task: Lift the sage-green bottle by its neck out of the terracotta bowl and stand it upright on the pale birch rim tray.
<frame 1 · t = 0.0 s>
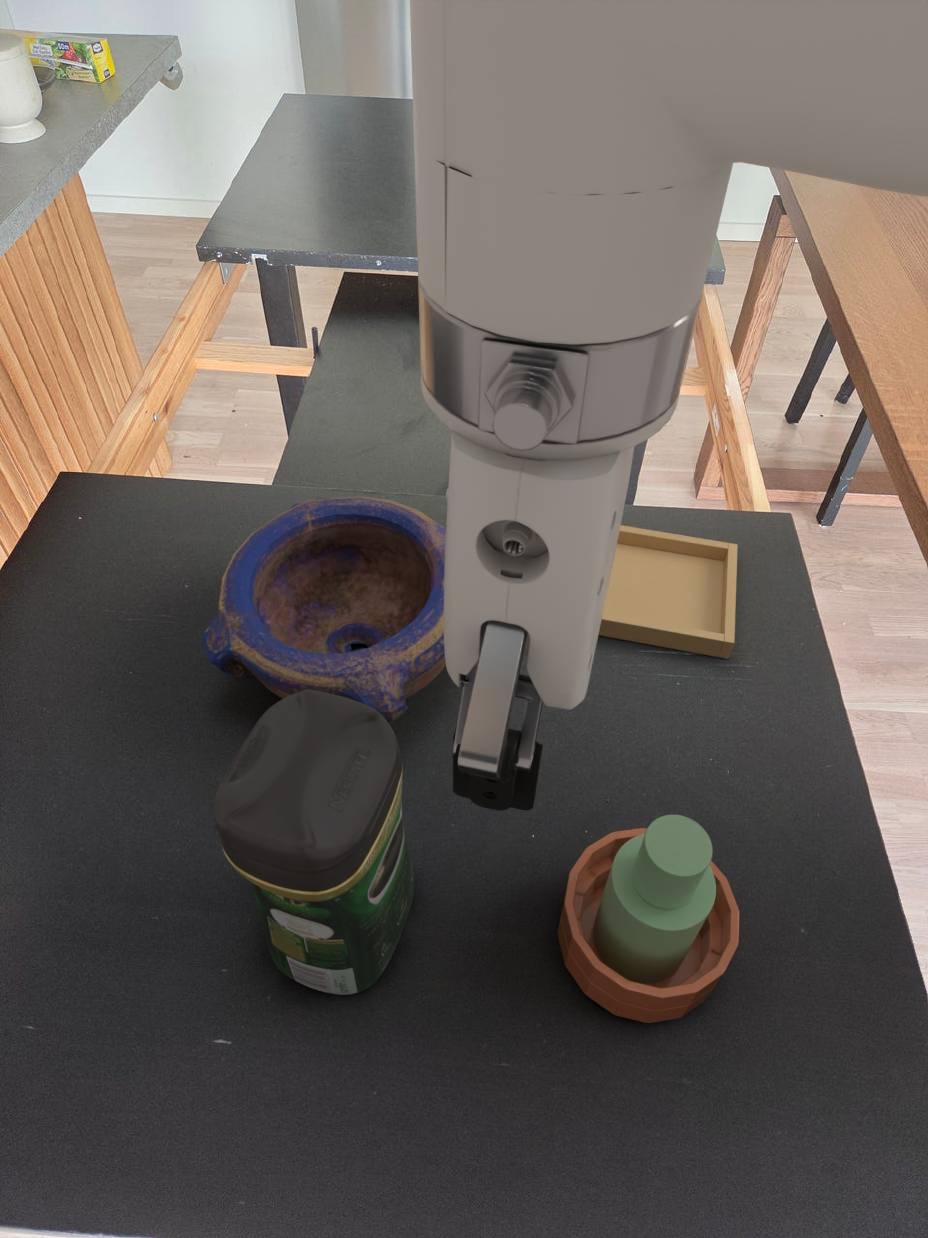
hand: (517, 700, 36), 22 cm above the table, tool pointing down, fingers open, 9 cm apart
bottle: (639, 936, 51), point 1 cm above the table, touching clay bowl
bowl: (354, 660, 67), on the table
clay bowl: (637, 940, 52), on the table
coffee jar: (343, 920, 53), on the table
tray: (637, 591, 72), on the table
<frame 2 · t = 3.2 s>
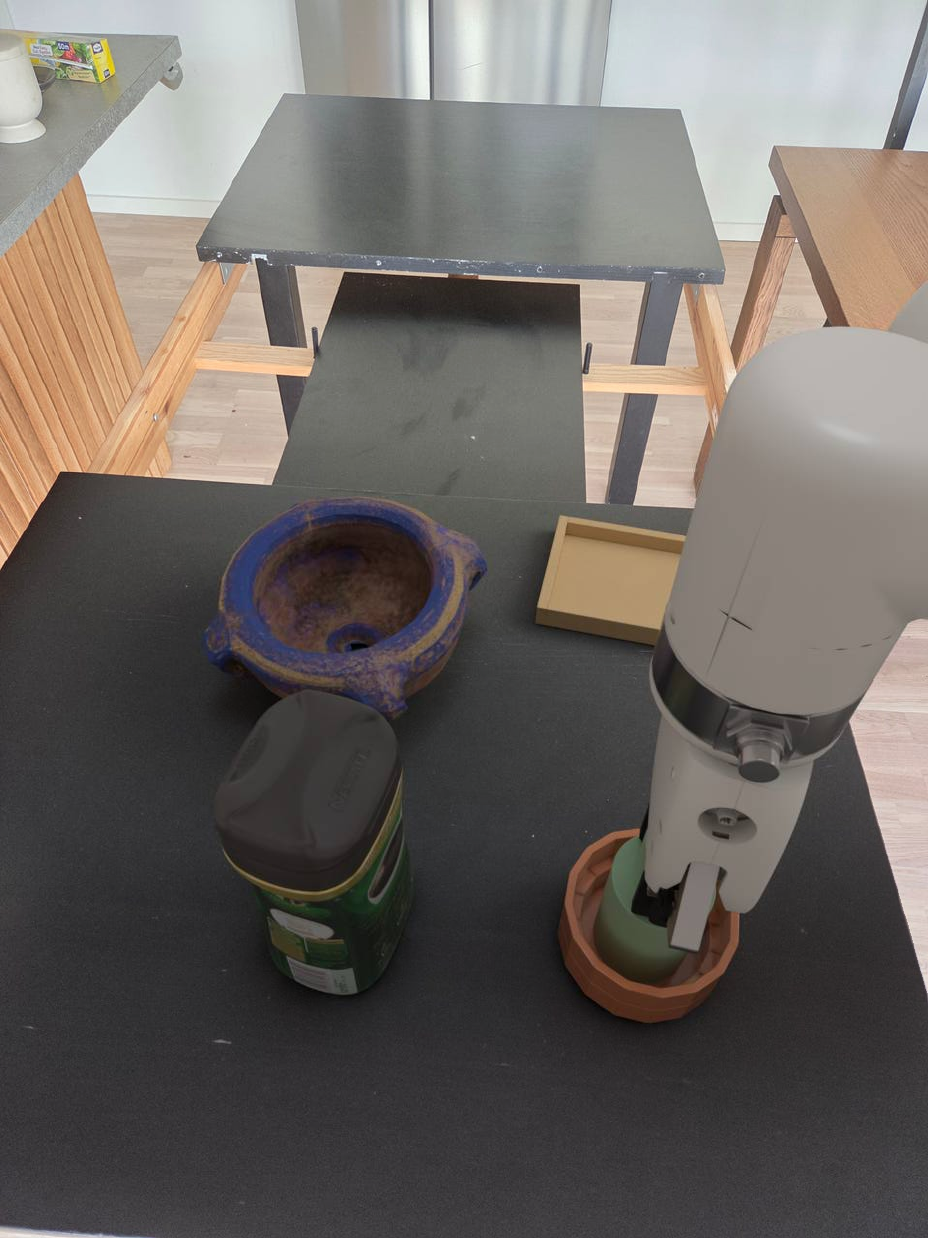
hand: (664, 876, 45), 9 cm above the table, tool pointing down, fingers closed on bottle, 3 cm apart
bottle: (639, 936, 51), point 1 cm above the table, touching clay bowl, gripper
everything else where it was.
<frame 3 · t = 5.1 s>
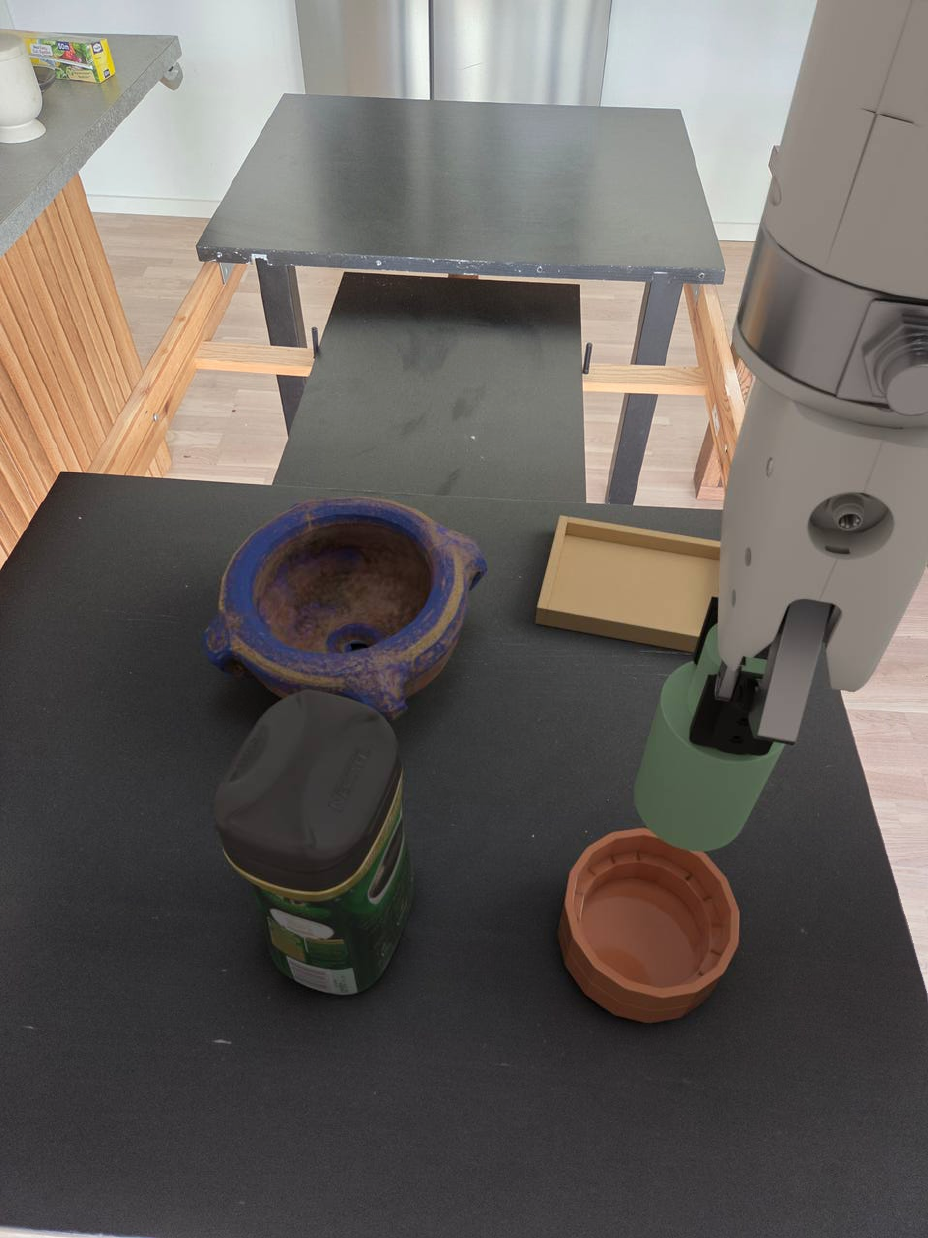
hand: (728, 702, 36), 22 cm above the table, tool pointing down, fingers closed on bottle, 3 cm apart
bottle: (689, 800, 43), point 14 cm above the table, touching gripper
everything else where it was.
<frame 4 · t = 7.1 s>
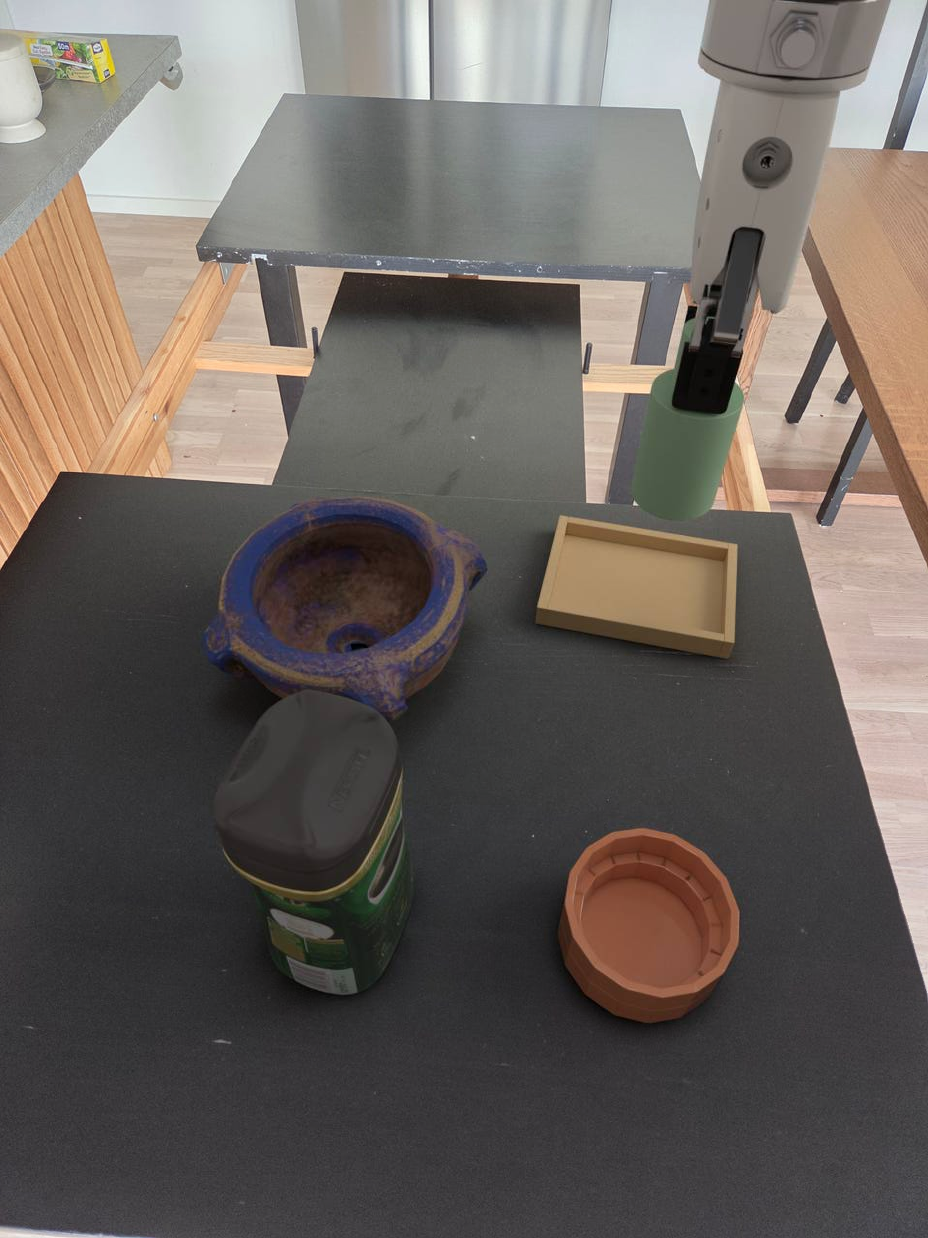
hand: (700, 386, 51), 23 cm above the table, tool pointing down, fingers closed on bottle, 3 cm apart
bottle: (672, 493, 57), point 15 cm above the table, touching gripper
everything else where it was.
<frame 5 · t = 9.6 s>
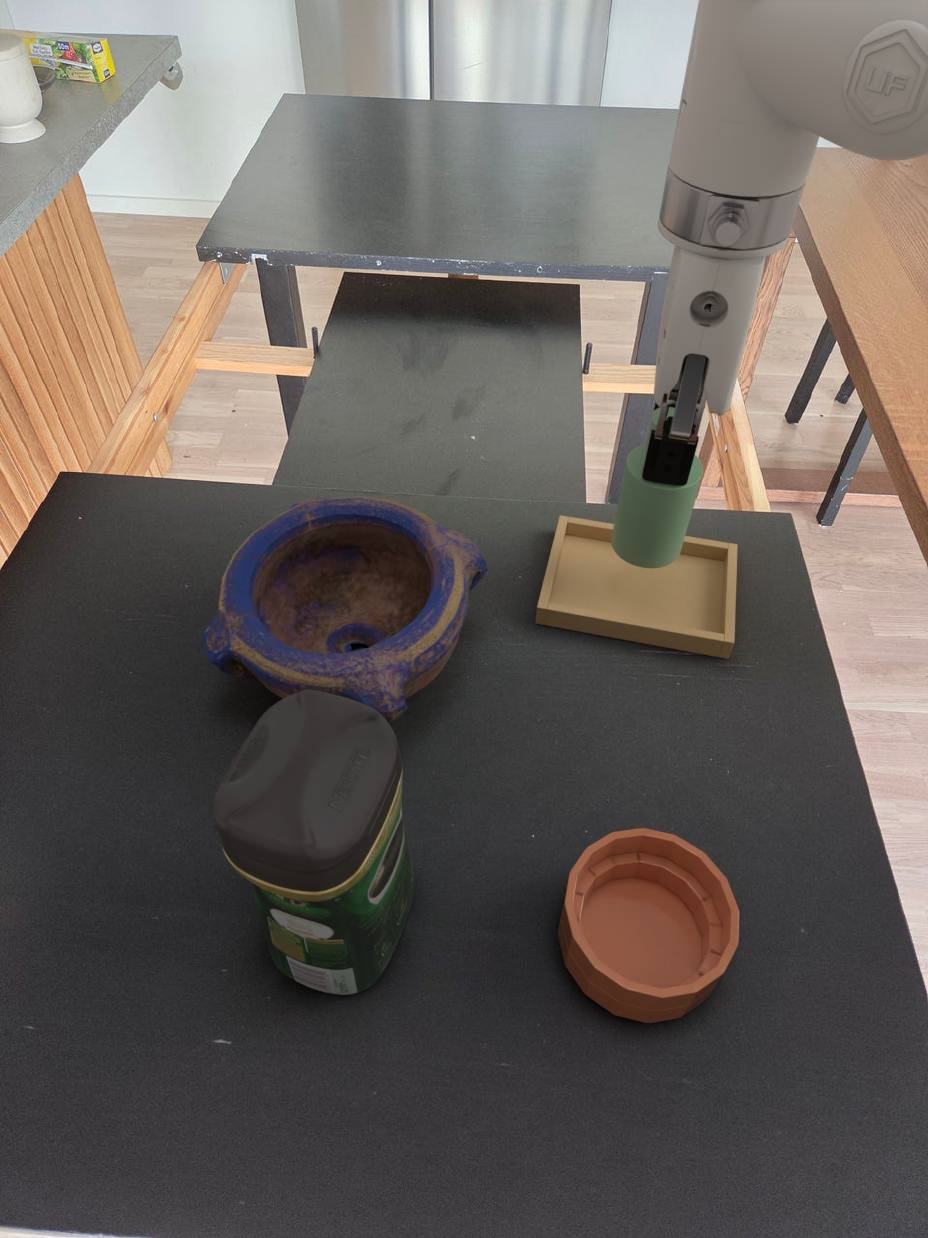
hand: (666, 461, 62), 14 cm above the table, tool pointing down, fingers closed on bottle, 3 cm apart
bottle: (645, 544, 68), point 5 cm above the table, touching gripper
everything else where it was.
when the fingers open (9 cm above the table, at t = 11.1 s): bottle stays where it is, resting on tray.
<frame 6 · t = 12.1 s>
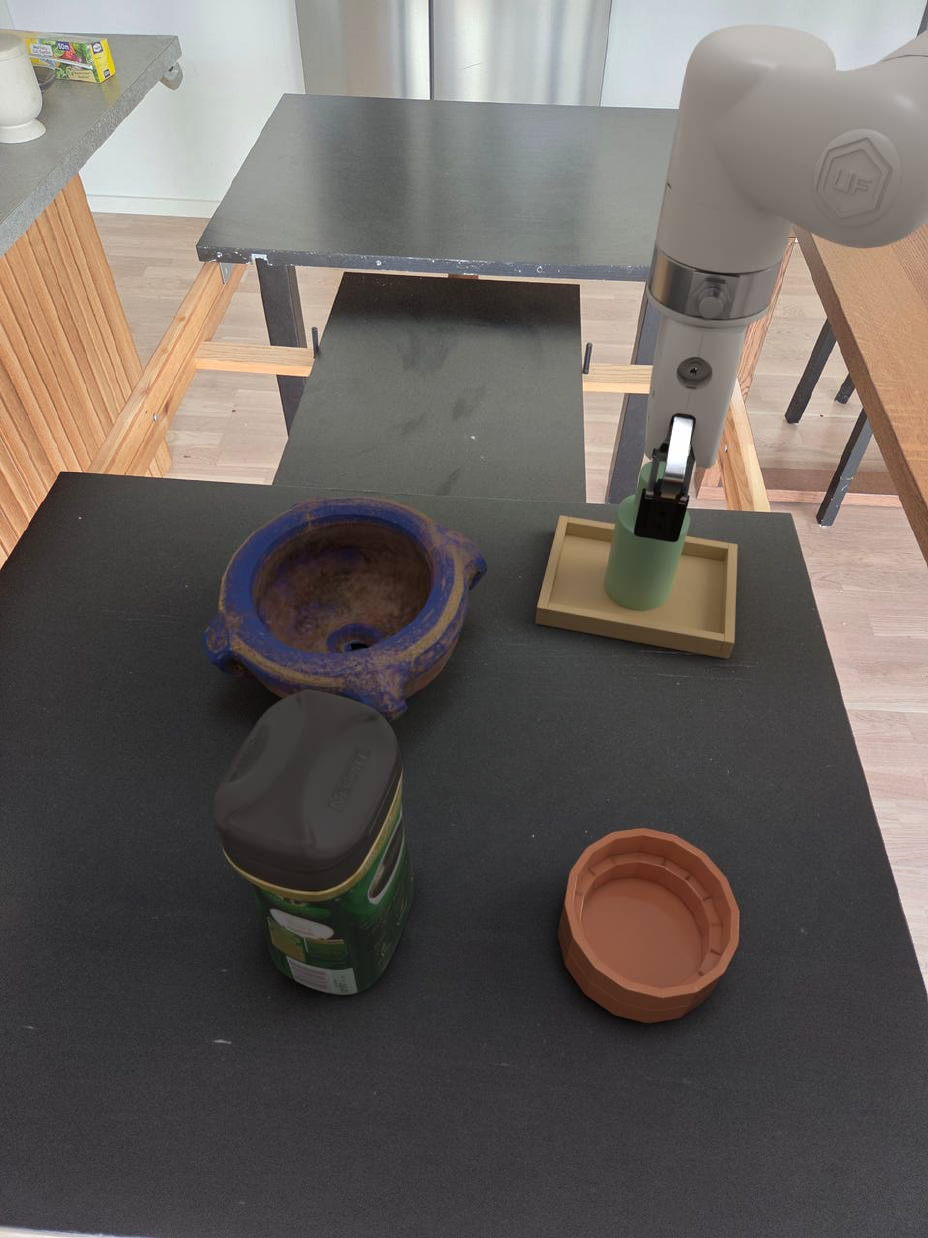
hand: (660, 494, 64), 11 cm above the table, tool pointing down, fingers open, 9 cm apart
bottle: (636, 586, 72), resting on tray
everything else where it was.
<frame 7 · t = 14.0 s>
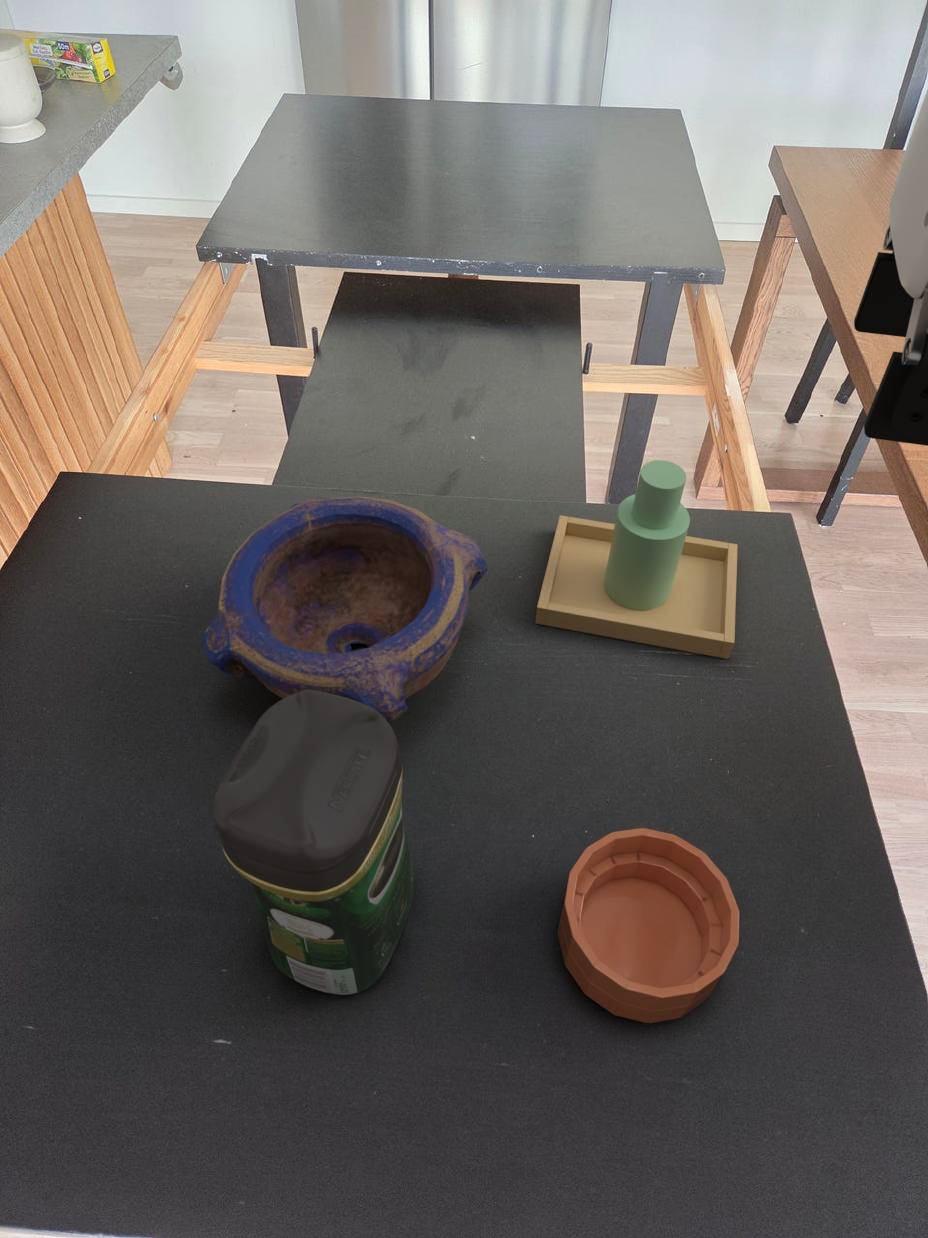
hand: (890, 381, 41), 29 cm above the table, tool pointing down, fingers open, 9 cm apart
nothing on the table moved.
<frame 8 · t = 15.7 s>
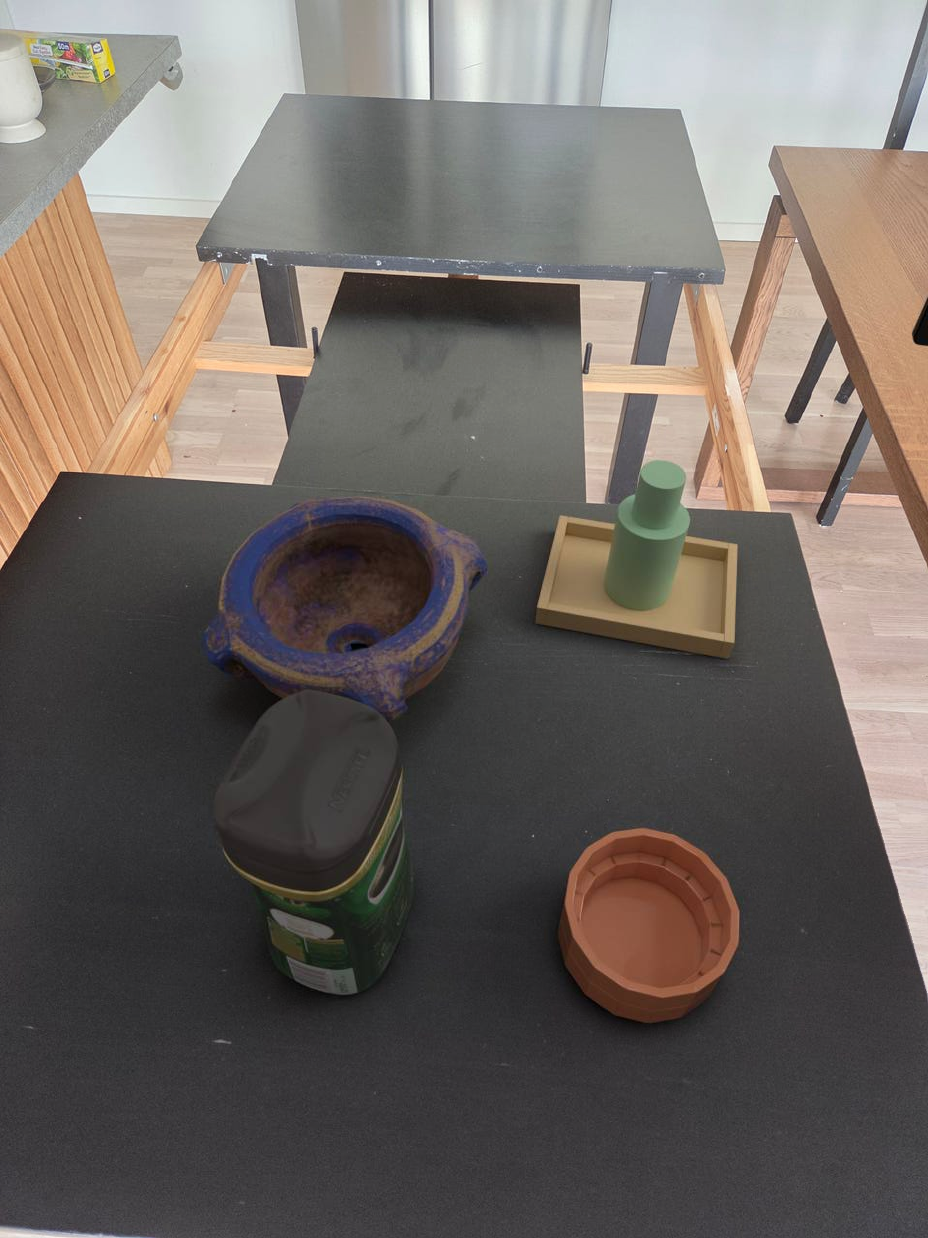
nothing on the table moved.
at the end: bottle inside the target area in the tray (0.1 cm from its centre), point 0.5 cm above the tray's base; bottle tilted 0°; the gripper is holding nothing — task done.
